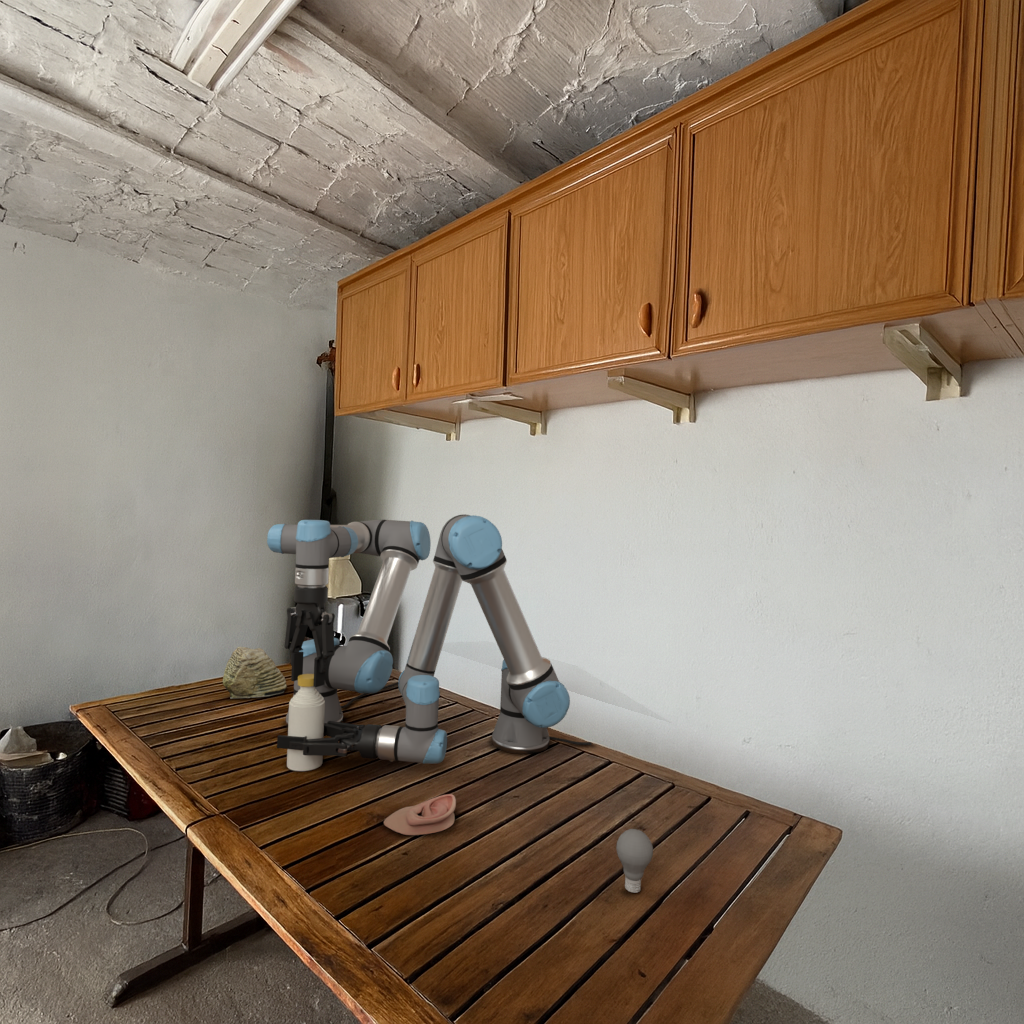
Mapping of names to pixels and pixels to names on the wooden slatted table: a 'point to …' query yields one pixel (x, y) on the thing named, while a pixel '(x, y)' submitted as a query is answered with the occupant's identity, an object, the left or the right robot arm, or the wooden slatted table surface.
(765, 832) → the wooden slatted table surface
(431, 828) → the anatomical model
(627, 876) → the light bulb
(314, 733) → the bottle
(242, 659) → the fossil
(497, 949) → the wooden slatted table surface
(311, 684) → the cap
